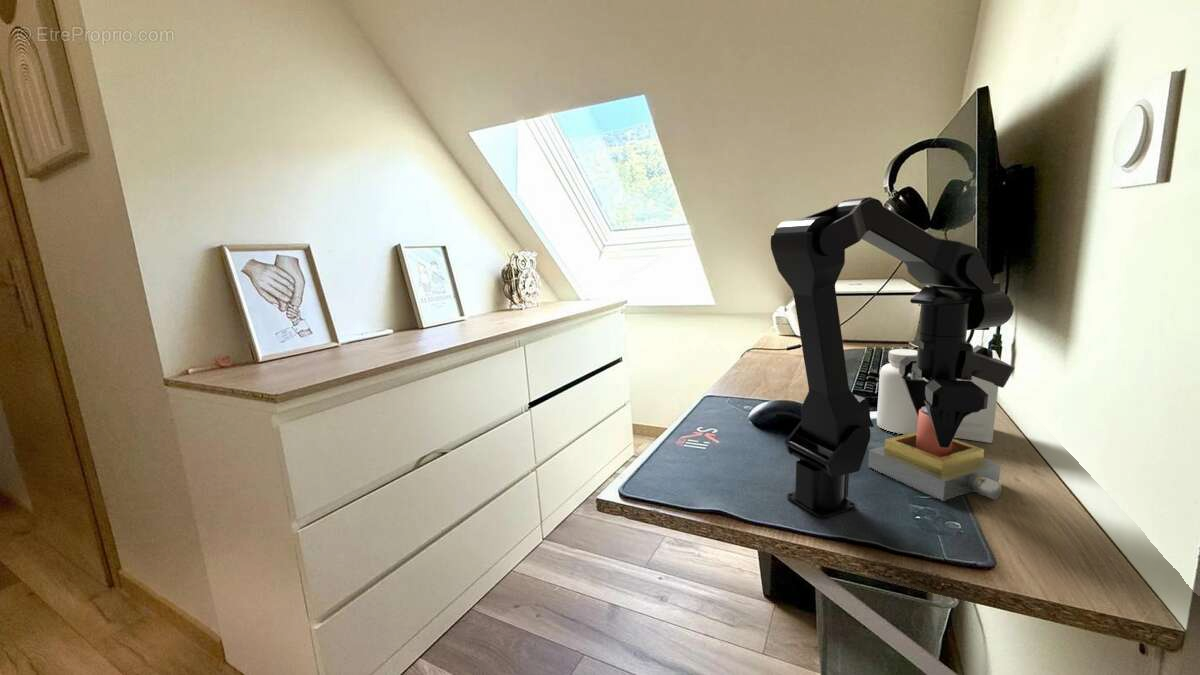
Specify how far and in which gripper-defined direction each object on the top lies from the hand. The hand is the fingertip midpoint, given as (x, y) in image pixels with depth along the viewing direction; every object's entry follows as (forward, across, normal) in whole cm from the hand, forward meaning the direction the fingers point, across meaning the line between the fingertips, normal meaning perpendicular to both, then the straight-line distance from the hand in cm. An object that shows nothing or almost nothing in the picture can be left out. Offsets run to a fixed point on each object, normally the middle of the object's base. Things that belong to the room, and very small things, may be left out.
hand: (933, 434), depth 75 cm
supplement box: (+7, +20, -10) cm, 24 cm away
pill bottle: (+7, +20, 0) cm, 21 cm away
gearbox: (+6, -1, -1) cm, 7 cm away
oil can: (+4, 0, 0) cm, 4 cm away
